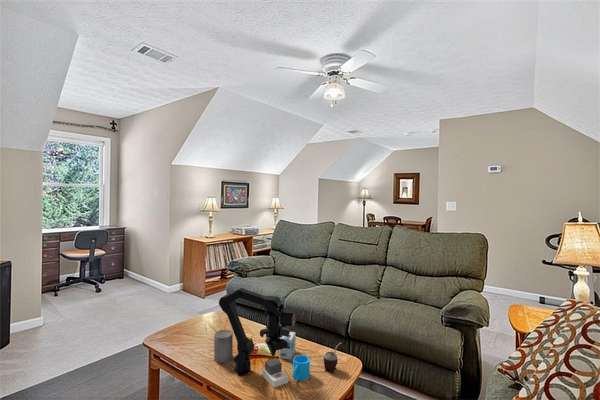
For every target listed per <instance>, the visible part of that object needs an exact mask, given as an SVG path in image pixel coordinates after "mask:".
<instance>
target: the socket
mask: <svg viewBox="0 0 600 400" xmlns="http://www.w3.org/2000/svg"><path fill="white" fill-rule="evenodd" d="M261 373H262V374H261V375H262V377H263V378H265V380H266V381H267V382H268V383H269V384H270V385H271V387H272V388H274V389H275V388H277V387H279V386H280V387H281V386H282V385H286V384H288V383H289V376H288V374H286V373H285V371H283V370H282V371H281V372H278V373H275V374H272V375H269V374H268V373H267V371H266V370H265V367H264V368H262V371H261Z"/></svg>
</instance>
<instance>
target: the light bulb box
mask: <svg viewBox="0 0 600 400" xmlns="http://www.w3.org/2000/svg"><path fill="white" fill-rule="evenodd" d="M296 337H297V335H296V332H295V331H290V333H289V337H287V336H282V337H281V338H280V337H279V338H280V339H284V340H285V341H287V342H288V347H287V348H284V349H280V350H279V359H283V360H284V359H286V360H293V358H294V354H295V352H296Z"/></svg>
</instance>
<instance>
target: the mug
mask: <svg viewBox="0 0 600 400" xmlns="http://www.w3.org/2000/svg"><path fill="white" fill-rule="evenodd" d="M310 363H311V359H310V357H309V356H307V355H304V354H299V355H298V354H297V355H295V356H293V357H292V364H293V365H292V368H293V369H292V378H293V380H295V381H306V380H309V378H310V369H311V364H310Z"/></svg>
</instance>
